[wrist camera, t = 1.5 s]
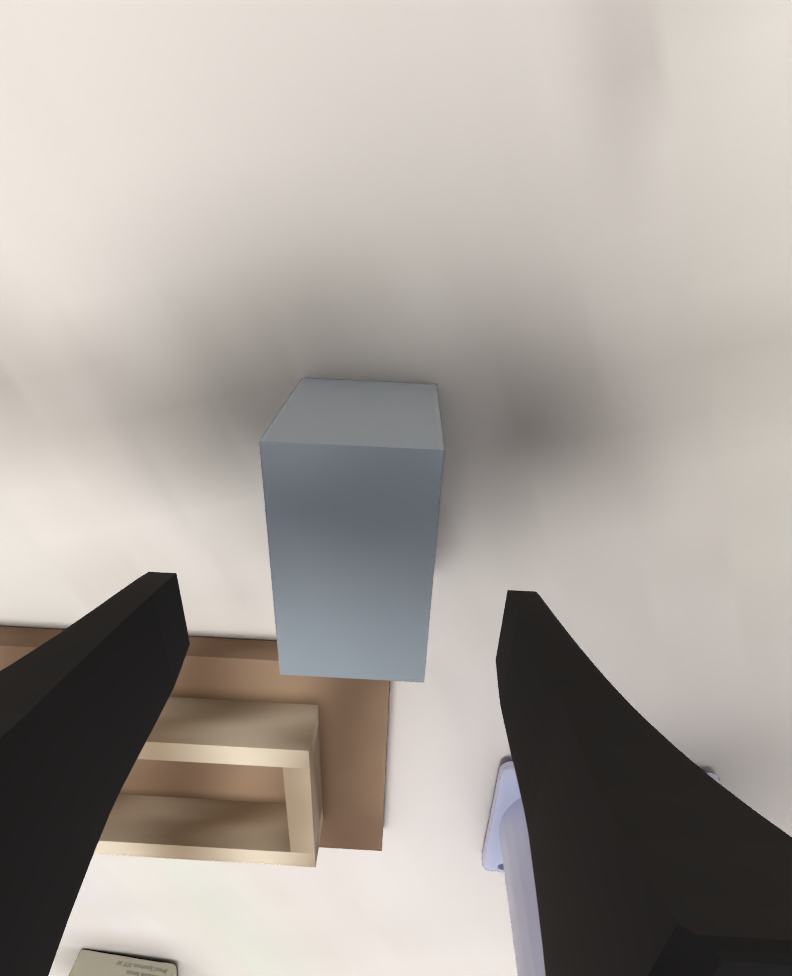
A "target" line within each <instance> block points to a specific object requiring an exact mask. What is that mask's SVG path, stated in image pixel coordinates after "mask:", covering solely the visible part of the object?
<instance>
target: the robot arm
mask: <svg viewBox="0 0 792 976" xmlns="http://www.w3.org/2000/svg"><path fill="white" fill-rule="evenodd" d="M189 645H190V642H189V637H188V632H187V626H186V621H185V616H184V611H183V606H182V600H181V595H180V590H179V585H178V580H177V574H176V573H160V572H148V573H146V574H145V575H143V576H141V577H140V578H138V579H137V580H135V581H134V582H132V583H131V584H130V585H128V586H127V587H125V588H124V589H122V590H121V591H120V592H118V593H117V594H115V595H114V596H112V597H111V598H110V599H108V600H107V601H105V602H104V603H103V604H101V605H100V606H98V607H97V608H95V609H94V610H93V611H91V612H90V613H88V614H87V615H85V616H84V617H82V618H81V619H80V620H78V621H77V622H75V623H74V624H72V625H71V626H69V627H68V628H67V629H65V630H64V631H62V632H61V633H59V634H58V635H56V636H55V637H53V638H51V639H50V640H48V641H47V642H45V643H44V644H42V645H41V646H39V647H37V648H36V649H34V650H33V651H31V652H30V653H28V654H26V655H25V656H23V657H22V658H20V659H19V660H17V661H16V662H14V663H12V664H11V665H9V666H8V667H6V668H4V669H3V670H1V671H0V976H48V975H49V972H50V969H51V966H52V963H53V961H54V958H55V955H56V952H57V949H58V947H59V944H60V941H61V938H62V935H63V933H64V930H65V927H66V924H67V921H68V919H69V916H70V913H71V911H72V908H73V905H74V903H75V900H76V898H77V895H78V892H79V890H80V887H81V885H82V882H83V879H84V877H85V874H86V872H87V869H88V866H89V864H90V861H91V859H92V856H93V854H94V851H95V849H96V847H97V844H98V842H99V839H100V837H101V834H102V832H103V829H104V827H105V825H106V822H107V820H108V817H109V815H110V812H111V810H112V808H113V806H114V804H115V802H116V799H117V797H118V795H119V793H120V791H121V789H122V787H123V785H124V783H125V781H126V779H127V777H128V775H129V773H130V772H131V770H132V768H133V766H134V764H135V762H136V760H137V758H138V756H139V754H140V752H141V751H142V749H143V747H144V745H145V743H146V741H147V739H148V737H149V735H150V733H151V731H152V730H153V728H154V726H155V724H156V722H157V720H158V718H159V716H160V714H161V712H162V710H163V708H164V706H165V704H166V702H167V700H168V698H169V696H170V694H171V692H172V690H173V688H174V686H175V684H176V681H177V678H178V676H179V673H180V671H181V668H182V665H183V662H184V659H185V656H186V654H187V651H188V648H189ZM496 667H497V678H498V688H499V697H500V705H501V710H502V715H503V719H504V724H505V728H506V733H507V737H508V742H509V746H510V751H511V755H512V759H513V761H508V762H505V763H503V764H502V765H501V766H500V769H499V774H498V779H497V784H496V789H495V794H494V799H493V804H492V809H491V814H490V819H489V824H488V829H487V834H486V839H485V844H484V849H483V854H482V866H483V868H484V869H486V870H488V871H497V872H504V874H505V881H506V889H507V896H508V904H509V912H510V919H511V927H512V935H513V942H514V950H515V957H516V965H517V973H518V976H792V837H790V836H789V835H788V834H786V833H785V832H783V831H782V830H781V829H779V828H778V827H777V826H775V825H774V824H772V823H771V822H770V821H768V820H767V819H765V818H764V817H763V816H761V815H760V814H758V813H757V812H756V811H754V810H753V809H752V808H750V807H749V806H748V805H746V804H745V803H744V802H742V801H741V800H740V799H738V798H737V797H736V796H734V795H733V794H732V793H731V792H729V791H728V790H727V789H725V788H724V787H723V786H722V784H721V782H720V781H719V779H718V777H717V775H715V774H714V773H709V772H704V771H703V770H702V769H701V768H700V767H698V766H697V765H696V764H695V763H693V762H692V761H691V760H690V759H689V758H688V757H686V756H685V755H684V754H683V753H682V752H681V751H679V750H678V749H677V748H676V747H675V746H674V745H673V744H671V743H670V742H669V741H668V740H667V739H666V738H665V737H664V736H663V735H662V734H661V733H660V732H659V731H657V730H656V729H655V728H654V727H653V726H652V725H651V724H650V723H649V722H648V721H647V720H646V719H645V718H643V717H642V716H641V715H640V714H639V713H638V712H637V711H636V710H635V709H634V708H633V707H632V706H631V705H630V704H629V703H628V701H627V700H626V699H625V698H624V697H623V696H622V695H621V694H620V693H619V692H618V691H617V690H616V689H615V688H614V687H613V685H612V684H611V683H610V682H609V681H608V680H607V679H606V678H605V677H604V675H603V674H602V673H601V672H600V671H599V670H598V669H597V667H596V666H595V665H594V664H593V663H592V661H591V660H590V659H589V658H588V657H587V656H586V654H585V653H584V652H583V651H582V650H581V648H580V647H579V646H578V645H577V643H576V642H575V641H574V640H573V639H572V637H571V636H570V635H569V633H568V632H567V631H566V630H565V628H564V627H563V626H562V624H561V623H560V622H559V621H558V619H557V618H556V617H555V615H554V614H553V613H552V611H551V610H550V609H549V607H548V606H547V605H546V603H545V602H544V601H543V599H542V598H541V597H540V596H539V594H538V593H537V592H532V591H512V590H508V591H507V597H506V603H505V609H504V615H503V621H502V627H501V632H500V638H499V644H498V650H497V656H496Z"/></svg>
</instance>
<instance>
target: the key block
mask: <svg viewBox="0 0 792 976" xmlns="http://www.w3.org/2000/svg"><path fill="white" fill-rule="evenodd" d="M259 442H260V454H261V465H262V476H263V488H264V499H265V510H266V522H267V533H268V544H269V556H270V567H271V579H272V590H273V601H274V613H275V624H276V635H277V647H278V658H279V669H280V675H297V676H316V677H334V678H353V679H371V680H390V681H408V682H424V676H425V665H426V653H427V642H428V630H429V619H430V607H431V596H432V584H433V573H434V561H435V550H436V538H437V527H438V515H439V504H440V492H441V481H442V469H443V457H444V444H443V436H442V427H441V418H440V410H439V401H438V392H437V384H425V383H403V382H382V381H361V380H340V379H319V378H302V379H301V381H300V382H299V384H298V385H297V386H296V388H295V389H294V391H293V392H292V394H291V395H290V397H289V398H288V400H287V401H286V403H285V404H284V406H283V407H282V409H281V410H280V411H279V413H278V414H277V416H276V417H275V419H274V420H273V422H272V423H271V425H270V426H269V428H268V429H267V431H266V432H265V434H264V435H263V437H262V438H261V439H260V441H259Z"/></svg>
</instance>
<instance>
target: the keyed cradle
mask: <svg viewBox="0 0 792 976" xmlns="http://www.w3.org/2000/svg"><path fill="white" fill-rule="evenodd" d="M62 631H64V630H63V629H44V628H26V627H7V626H0V671H1V670H3V669H4V668H6V667H8V666H9V665H11V664H12V663H14V662H16V661H17V660H19V659H20V658H22V657H23V656H25V655H26V654H28V653H30V652H31V651H33V650H34V649H36V648H37V647H39V646H41V645H42V644H44V643H45V642H47V641H48V640H50V639H51V638H53V637H55V636H56V635H58V634H59V633H61V632H62ZM188 637H189V642H190V645H189V648H188V651H187V654H186V656H185V659H184V662H183V665H182V668H181V671H180V673H179V676H178V678H177V681H176V684H175V686H174V688H173V690H172V692H171V694H170V696H169V698H168V700H167V702H166V704H165V706H164V708H163V710H162V712H161V714H160V716H159V718H158V720H157V722H156V724H155V726H154V728H153V730H152V731H151V733H150V735H149V737H148V739H147V741H146V743H145V745H144V747H143V749H142V751H141V752H140V754H139V756H138V758H137V760H136V762H135V764H134V766H133V768H132V770H131V772H130V773H129V775H128V777H127V779H126V781H125V783H124V785H123V787H122V789H121V791H120V793H119V795H118V797H117V799H116V802H115V804H114V806H113V808H112V810H111V812H110V815H109V817H108V820H107V822H106V825H105V827H104V829H103V832H102V834H101V837H100V839H99V842H98V844H97V847H96V849H95V851H94V854H106V855H123V856H139V857H156V858H172V859H189V860H206V861H222V862H239V863H255V864H272V865H288V866H305V867H316V861H317V854H318V848H319V847H325V848H342V849H359V850H375V851H382V837H383V817H384V795H385V772H386V750H387V728H388V705H389V683H390V680H371V679H353V678H334V677H316V676H297V675H280V669H279V658H278V647H277V641H265V640H247V639H228V638H210V637H191V636H188Z"/></svg>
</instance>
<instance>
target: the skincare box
mask: <svg viewBox="0 0 792 976" xmlns="http://www.w3.org/2000/svg"><path fill="white" fill-rule="evenodd" d="M69 976H177V970H176V966H175V965H174V964H172V963H163V962H156V961H149V960H143V959H137V958H131V957H125V956H119V955H113V954H107V953H100V952H95V951H90V950H81V951H80V953H79V955H78V957H77V959H76V961H75V963H74V965H73V968H72V970H71V972H70V974H69Z"/></svg>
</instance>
